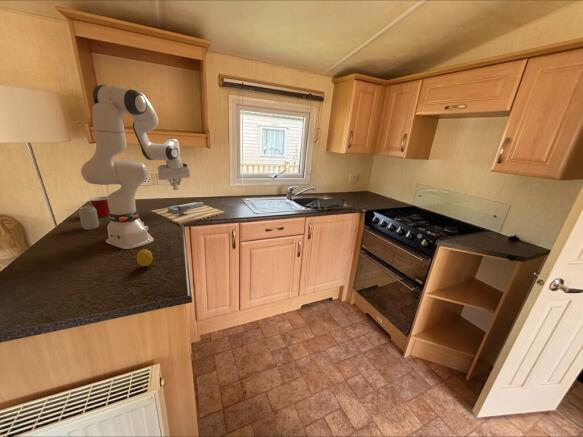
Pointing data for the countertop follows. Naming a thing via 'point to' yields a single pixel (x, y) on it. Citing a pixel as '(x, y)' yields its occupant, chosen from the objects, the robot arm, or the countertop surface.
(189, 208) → the keeper
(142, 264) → the lemon
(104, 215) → the plastic cup
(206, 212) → the board
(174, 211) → the link
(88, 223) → the can
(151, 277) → the countertop surface
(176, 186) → the pin
